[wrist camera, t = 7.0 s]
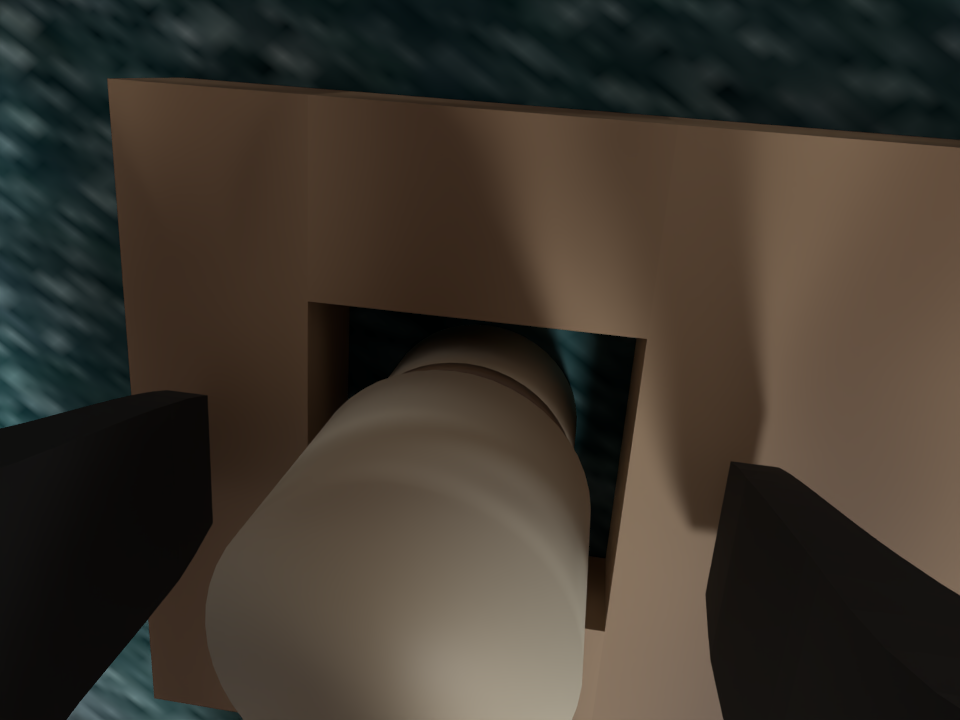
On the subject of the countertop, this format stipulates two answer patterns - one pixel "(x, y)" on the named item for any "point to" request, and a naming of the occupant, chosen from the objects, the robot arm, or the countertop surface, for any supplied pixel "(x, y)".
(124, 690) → the countertop surface
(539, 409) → the peg
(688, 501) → the board
